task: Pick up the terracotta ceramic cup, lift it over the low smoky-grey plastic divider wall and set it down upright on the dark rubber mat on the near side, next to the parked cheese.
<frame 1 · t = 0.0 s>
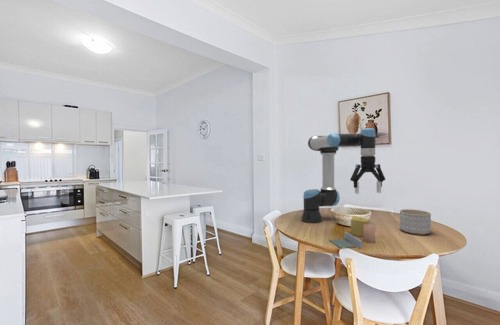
hand: (367, 193, 138), 28 cm above the table, fingers open, 13 cm apart
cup: (369, 240, 141), on the table
mat: (342, 244, 136), on the table
divider wall: (352, 243, 137), on the table
cheese: (360, 234, 153), on the table
planter: (414, 232, 156), on the table
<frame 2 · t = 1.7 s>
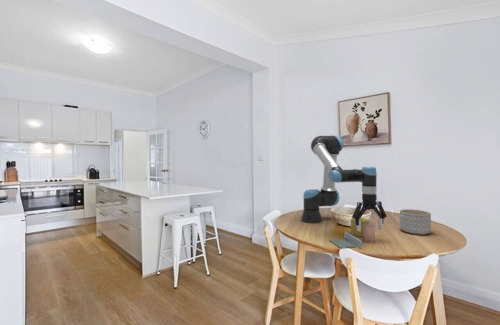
hand: (369, 230, 140), 6 cm above the table, fingers open, 13 cm apart
nothing on the table moved.
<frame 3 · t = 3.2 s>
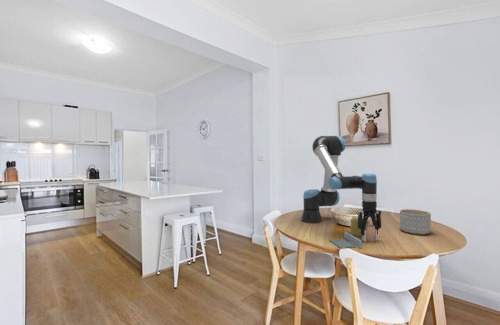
hand: (369, 240, 140), 0 cm above the table, fingers closed on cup, 6 cm apart
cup: (369, 240, 141), on the table, touching gripper
everything else where it was.
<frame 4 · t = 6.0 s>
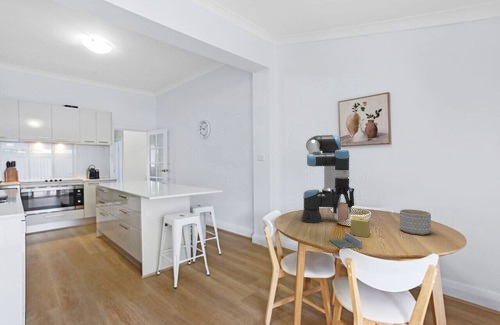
hand: (342, 218, 136), 14 cm above the table, fingers closed on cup, 6 cm apart
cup: (341, 219, 136), point 14 cm above the table, touching gripper
everything else where it was.
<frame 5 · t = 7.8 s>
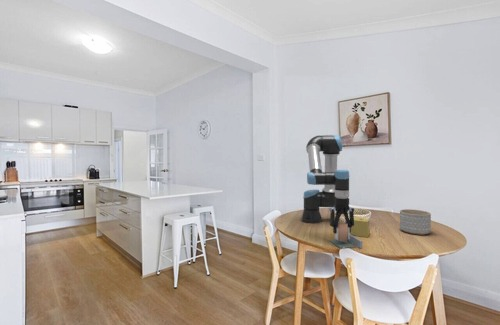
hand: (342, 238, 136), 3 cm above the table, fingers closed on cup, 6 cm apart
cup: (341, 239, 136), point 3 cm above the table, touching gripper
everything else where it was.
when the fingers open (2 cm above the table, at t = 8.8 s): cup drops 1 cm, resting on mat.
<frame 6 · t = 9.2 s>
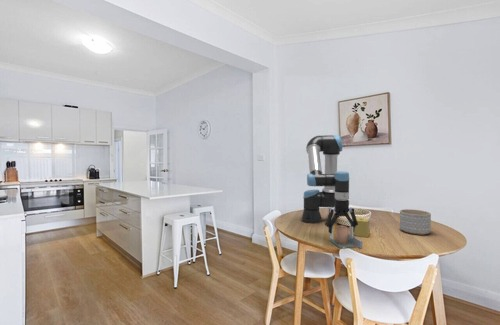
hand: (341, 238, 136), 3 cm above the table, fingers open, 11 cm apart
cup: (341, 242, 136), point 1 cm above the table, touching mat
everything else where it was.
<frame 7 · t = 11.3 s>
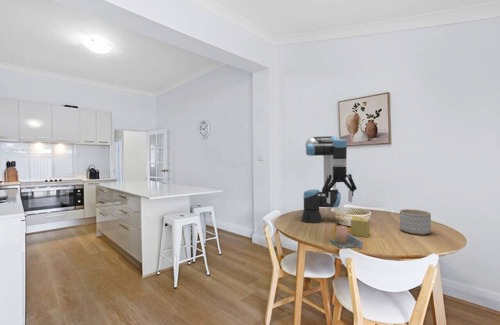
hand: (339, 202, 141), 22 cm above the table, fingers open, 13 cm apart
nothing on the table moved.
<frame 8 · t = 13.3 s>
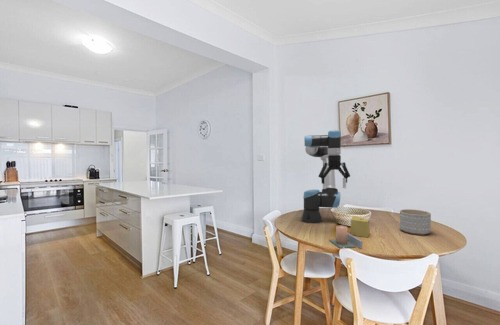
hand: (334, 188, 154), 29 cm above the table, fingers open, 13 cm apart
nothing on the table moved.
at the end: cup 0.2 cm from the mat (horizontally); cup point 0.6 cm above the table; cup tilted 0° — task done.
